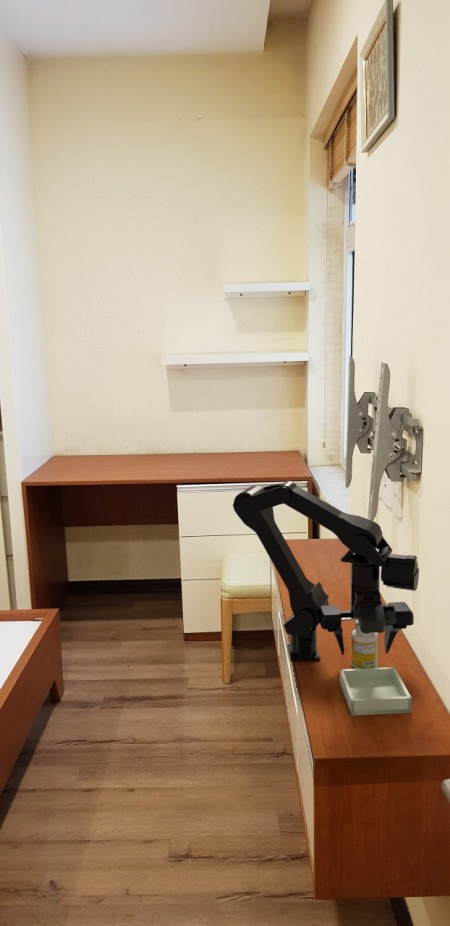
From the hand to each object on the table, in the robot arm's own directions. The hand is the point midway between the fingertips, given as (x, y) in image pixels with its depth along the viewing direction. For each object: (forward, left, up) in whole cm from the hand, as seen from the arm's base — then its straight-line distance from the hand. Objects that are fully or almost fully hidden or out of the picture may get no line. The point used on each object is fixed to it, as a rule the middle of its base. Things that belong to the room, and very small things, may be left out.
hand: (364, 653), depth 138 cm
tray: (+12, -1, -3) cm, 12 cm away
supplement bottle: (0, 0, -3) cm, 3 cm away
